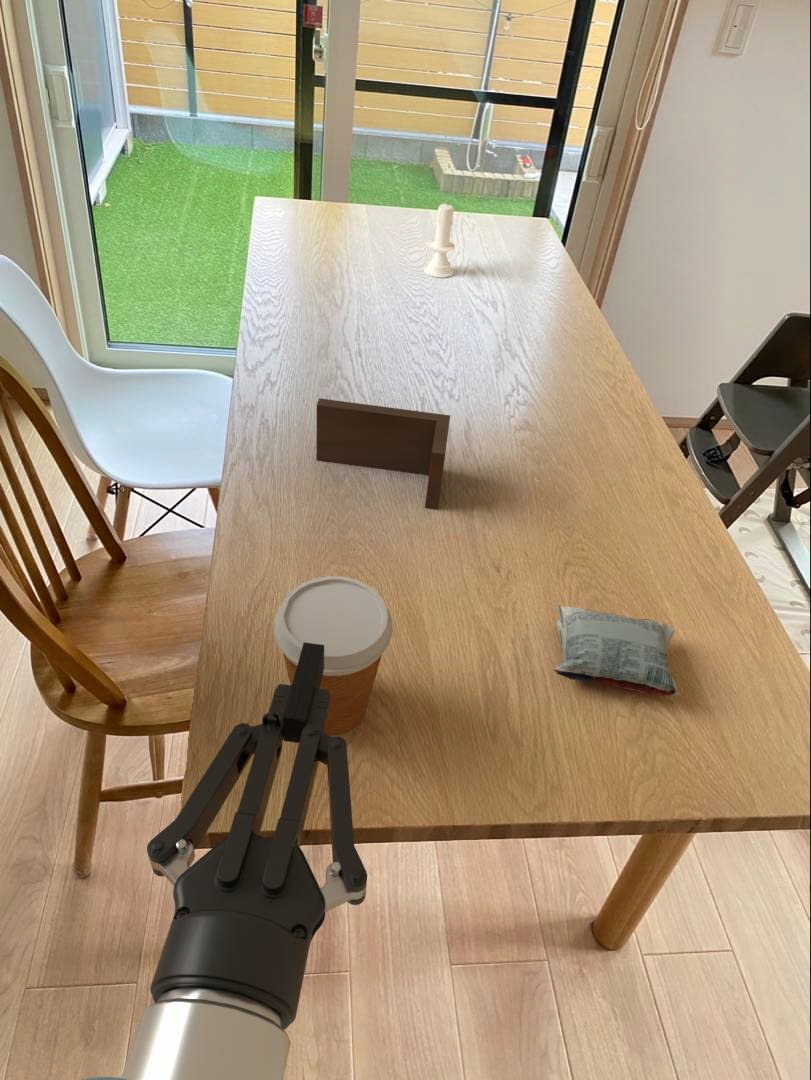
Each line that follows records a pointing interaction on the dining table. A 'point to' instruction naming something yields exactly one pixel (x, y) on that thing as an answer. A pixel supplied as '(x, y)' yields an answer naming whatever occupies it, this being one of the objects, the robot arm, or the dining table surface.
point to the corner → (384, 440)
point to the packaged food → (615, 650)
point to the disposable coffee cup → (337, 640)
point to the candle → (441, 244)
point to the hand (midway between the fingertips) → (314, 656)
